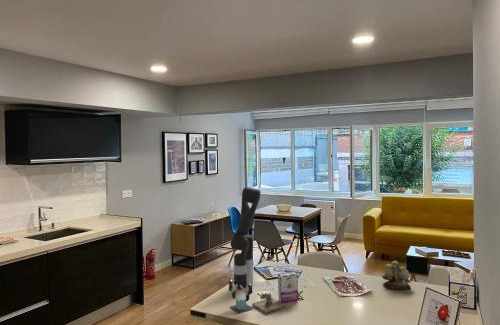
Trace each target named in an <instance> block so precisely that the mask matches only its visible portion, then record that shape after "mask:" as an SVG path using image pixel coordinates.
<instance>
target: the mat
mask: <svg viewBox="0 0 500 325" xmlns="http://www.w3.org/2000/svg"><path fill="white" fill-rule="evenodd" d="M229 308H230V309H231V310H232V311H234V312H235V313H236V314H242V313H246V312H248V311H251V310H254V307H253V306H250V305H248V304H247V303H246V308H245V309H243V310H239V309H237V308H236V304H234V305H231V306H229Z"/></svg>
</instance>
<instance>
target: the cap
mask: <svg viewBox="0 0 500 325" xmlns="http://www.w3.org/2000/svg"><path fill="white" fill-rule="evenodd" d="M246 304H247V301H246V297H244V296H239V297H236V298H235V305H236V308H237V309H239V310H243V309H245V308H246Z"/></svg>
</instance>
